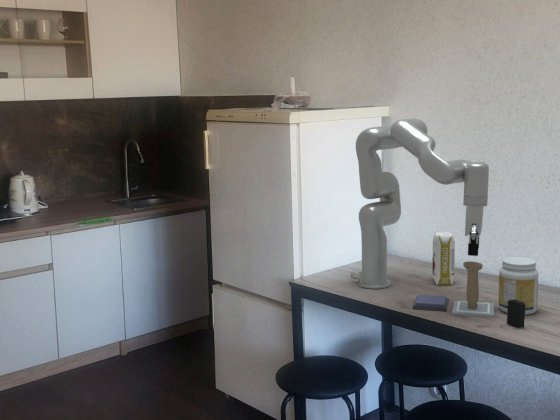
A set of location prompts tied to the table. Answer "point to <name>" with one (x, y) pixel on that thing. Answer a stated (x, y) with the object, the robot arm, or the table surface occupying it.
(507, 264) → the supplement tub
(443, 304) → the ink pad
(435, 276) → the juice carton
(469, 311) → the marked board
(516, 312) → the ink cartridge
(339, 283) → the table surface
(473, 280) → the handle
